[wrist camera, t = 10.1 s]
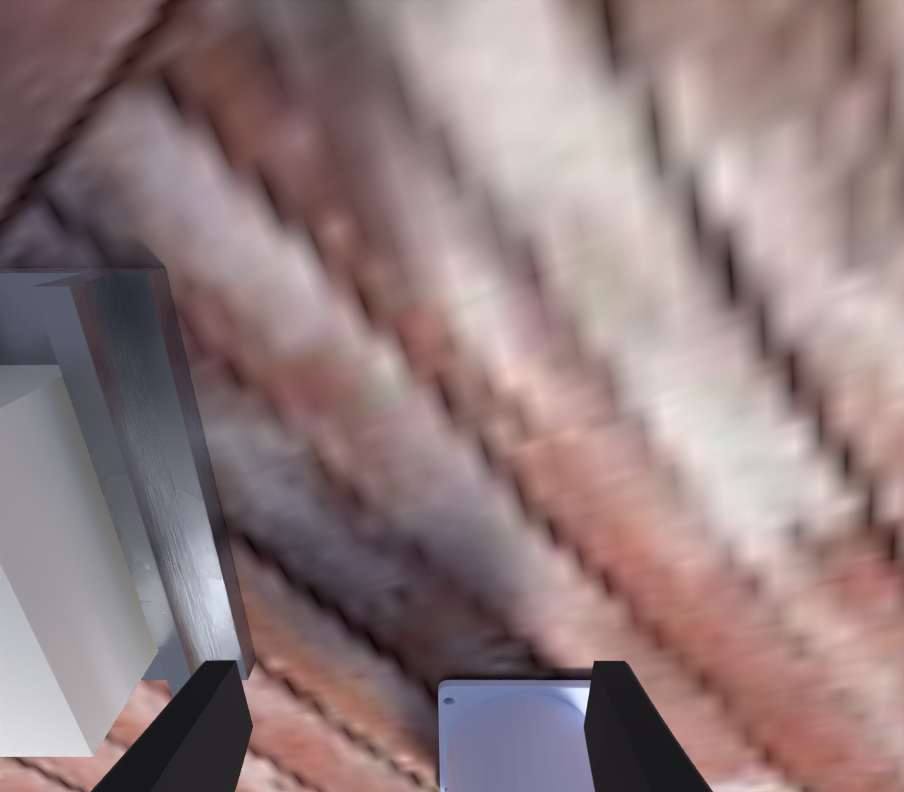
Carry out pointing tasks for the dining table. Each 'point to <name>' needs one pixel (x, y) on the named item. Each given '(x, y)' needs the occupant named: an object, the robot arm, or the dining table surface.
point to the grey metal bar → (59, 580)
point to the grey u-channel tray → (139, 447)
